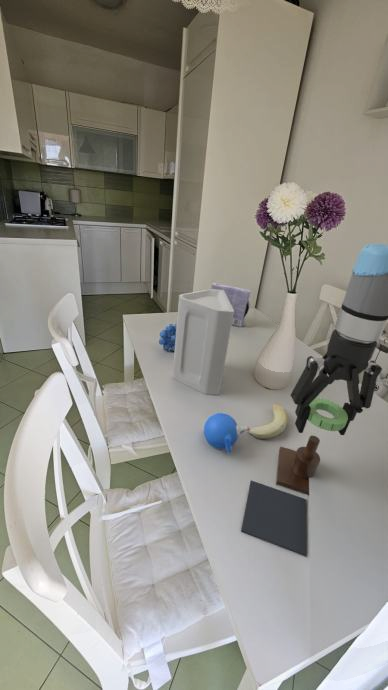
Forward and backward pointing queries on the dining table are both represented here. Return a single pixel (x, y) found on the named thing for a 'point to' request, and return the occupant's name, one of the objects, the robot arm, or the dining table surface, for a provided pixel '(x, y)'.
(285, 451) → the stand
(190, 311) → the white prism box
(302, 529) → the mat
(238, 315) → the purple towel
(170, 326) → the grapes
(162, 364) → the dining table surface
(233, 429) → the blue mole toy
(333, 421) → the ring
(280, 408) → the fruit
